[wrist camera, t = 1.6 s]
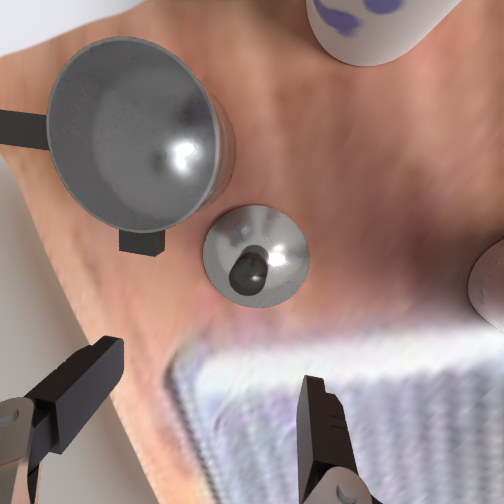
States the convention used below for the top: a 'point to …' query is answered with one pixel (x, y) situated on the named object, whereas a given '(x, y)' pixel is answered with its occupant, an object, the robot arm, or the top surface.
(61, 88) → the pot
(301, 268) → the lid
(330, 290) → the top surface
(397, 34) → the container
